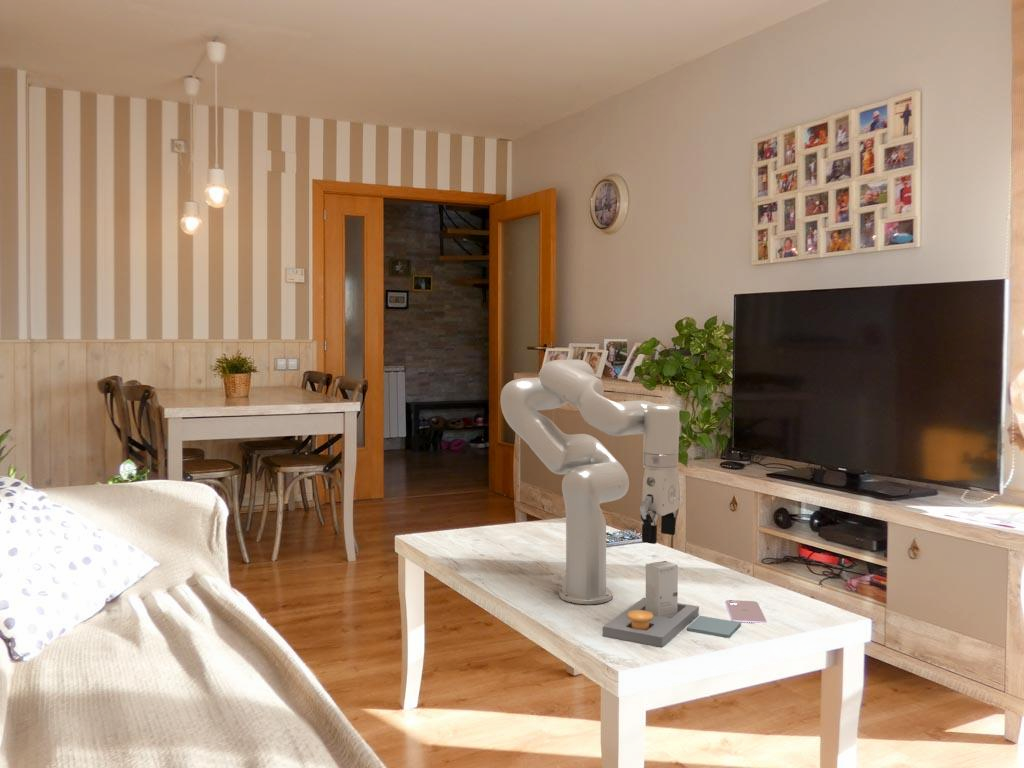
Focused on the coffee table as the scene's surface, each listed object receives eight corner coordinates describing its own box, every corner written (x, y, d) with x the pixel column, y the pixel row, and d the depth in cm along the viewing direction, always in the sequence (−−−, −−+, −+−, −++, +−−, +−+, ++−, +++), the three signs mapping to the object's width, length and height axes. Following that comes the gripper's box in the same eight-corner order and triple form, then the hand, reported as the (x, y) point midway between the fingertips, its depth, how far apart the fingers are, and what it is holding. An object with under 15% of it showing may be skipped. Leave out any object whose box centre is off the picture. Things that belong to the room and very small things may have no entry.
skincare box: (658, 623, 185) (658, 568, 184) (644, 617, 188) (644, 563, 188) (678, 618, 188) (679, 564, 187) (664, 613, 192) (665, 559, 191)
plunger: (623, 636, 177) (623, 615, 176) (633, 628, 181) (633, 608, 181) (647, 640, 174) (647, 619, 174) (656, 633, 178) (656, 612, 178)
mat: (686, 630, 180) (686, 627, 180) (700, 618, 188) (700, 615, 188) (728, 637, 176) (729, 635, 176) (740, 625, 183) (740, 622, 183)
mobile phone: (732, 619, 185) (724, 598, 200) (731, 624, 185) (724, 602, 200) (768, 621, 184) (757, 600, 199) (768, 625, 184) (757, 604, 199)
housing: (602, 635, 177) (602, 626, 177) (643, 606, 197) (643, 597, 197) (662, 647, 170) (662, 637, 170) (698, 615, 190) (698, 606, 190)
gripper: (659, 467, 176) (658, 549, 177) (692, 457, 190) (690, 533, 191) (627, 464, 180) (625, 543, 181) (661, 454, 195) (659, 528, 196)
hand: (658, 538), depth 186 cm, fingers open, 9 cm apart
